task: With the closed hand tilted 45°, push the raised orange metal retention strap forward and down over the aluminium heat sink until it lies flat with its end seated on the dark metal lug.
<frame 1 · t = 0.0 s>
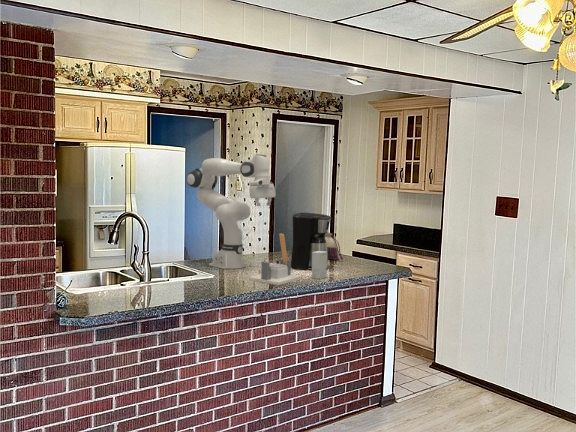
hand: (263, 205, 317), 39 cm above the counter, tool pointing down, fingers open, 8 cm apart
skincare box: (319, 277, 308), on the counter
retention strap: (283, 248, 304), point 16 cm above the counter, hinge at 75.0°
coffee maker: (305, 267, 341), on the counter
socket board: (275, 279, 299), on the counter
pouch: (327, 259, 371), on the counter
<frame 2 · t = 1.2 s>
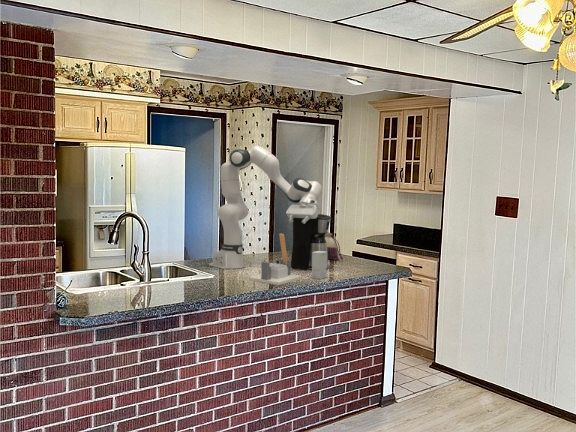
hand: (296, 222, 312), 30 cm above the counter, tool tilted 45°, fingers open, 7 cm apart
nothing on the counter moved.
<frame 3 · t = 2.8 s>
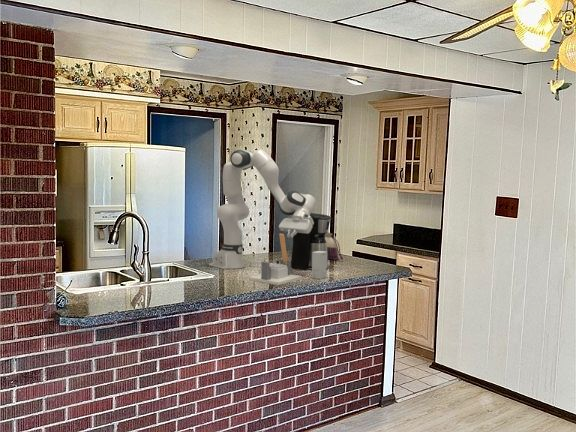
hand: (289, 236, 307), 23 cm above the counter, tool tilted 45°, fingers closed
nothing on the counter moved.
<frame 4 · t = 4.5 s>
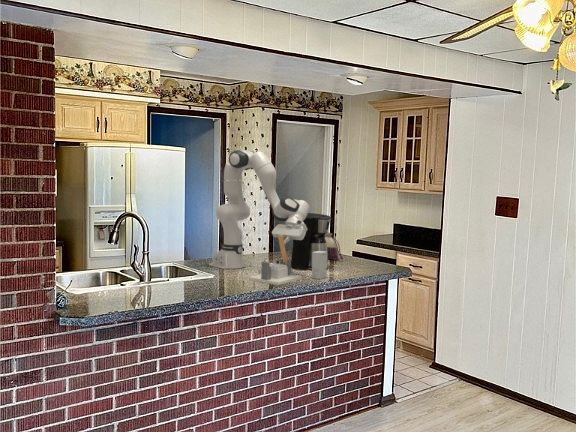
hand: (282, 243, 302), 19 cm above the counter, tool tilted 45°, fingers closed, pressing on retention strap
retention strap: (282, 249, 303), point 16 cm above the counter, hinge at 69.9°, touching gripper
everything else where it was.
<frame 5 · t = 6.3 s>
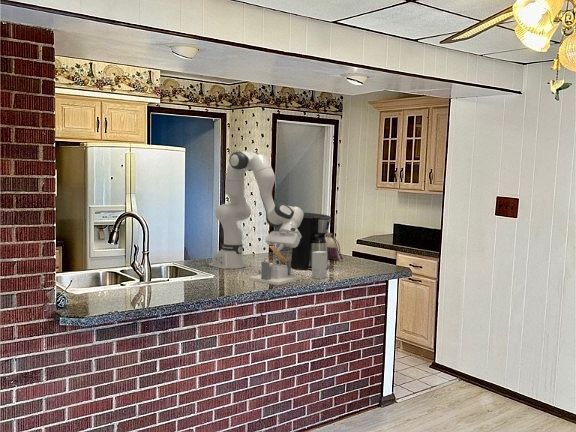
hand: (276, 250, 298), 16 cm above the counter, tool tilted 45°, fingers closed, pressing on retention strap
retention strap: (278, 254, 300), point 13 cm above the counter, hinge at 37.6°, touching gripper
everything else where it was.
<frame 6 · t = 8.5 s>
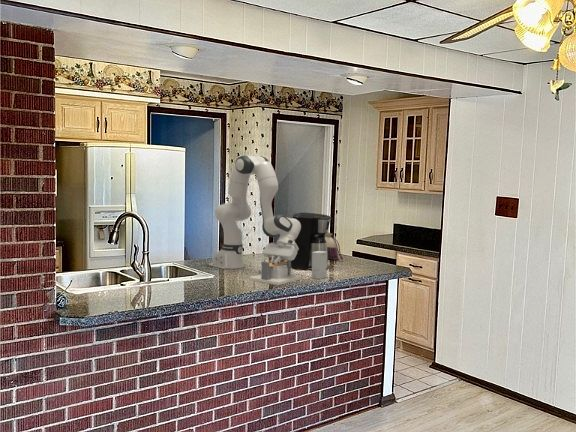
hand: (273, 263, 296), 9 cm above the counter, tool tilted 45°, fingers closed, pressing on retention strap
retention strap: (276, 264, 299), point 8 cm above the counter, hinge at 0.0°, touching gripper, socket board
everything else where it was.
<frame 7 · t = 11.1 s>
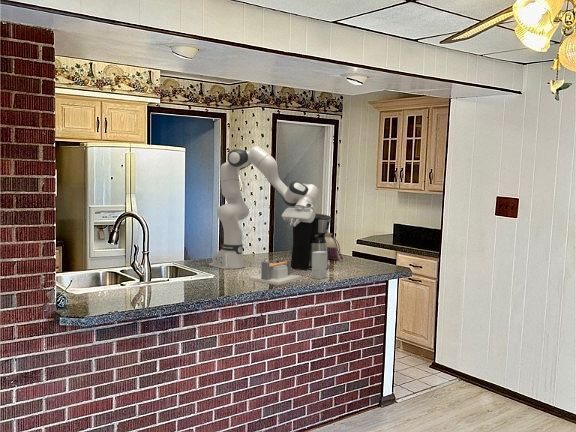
hand: (292, 225, 309), 29 cm above the counter, tool tilted 45°, fingers closed
retention strap: (276, 264, 299), point 8 cm above the counter, hinge at 0.0°, touching socket board
everything else where it was.
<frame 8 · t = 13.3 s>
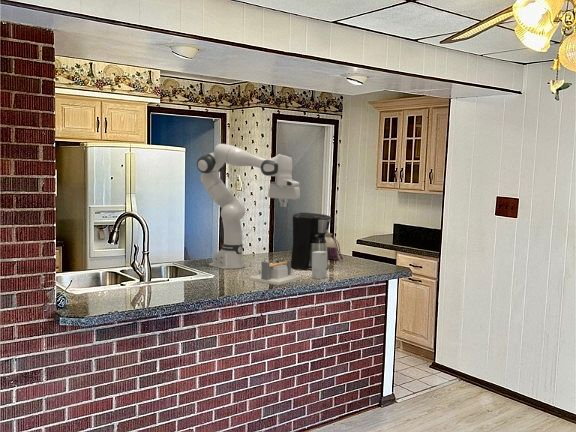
hand: (283, 206, 311), 39 cm above the counter, tool pointing down, fingers closed
nothing on the counter moved.
at the end: retention strap at +0° (first picture: +75°) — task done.
